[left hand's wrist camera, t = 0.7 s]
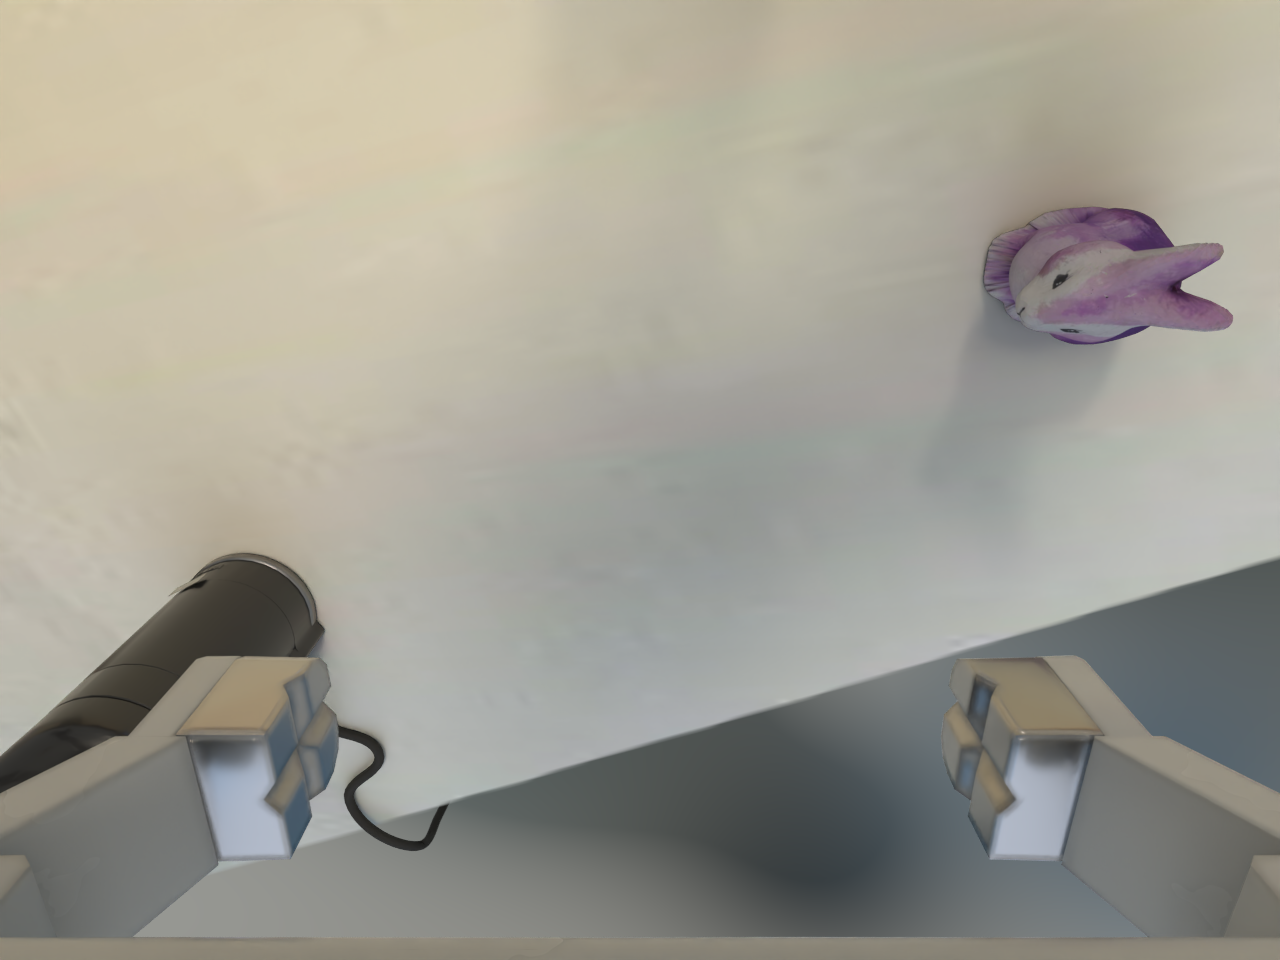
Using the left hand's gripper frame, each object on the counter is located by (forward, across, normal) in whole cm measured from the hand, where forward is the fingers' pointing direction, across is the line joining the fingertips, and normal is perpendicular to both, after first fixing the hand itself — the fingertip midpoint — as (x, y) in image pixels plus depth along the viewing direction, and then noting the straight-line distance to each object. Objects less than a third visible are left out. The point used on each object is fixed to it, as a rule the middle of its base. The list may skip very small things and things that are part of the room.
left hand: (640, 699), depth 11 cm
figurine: (+45, -27, +1) cm, 52 cm away
